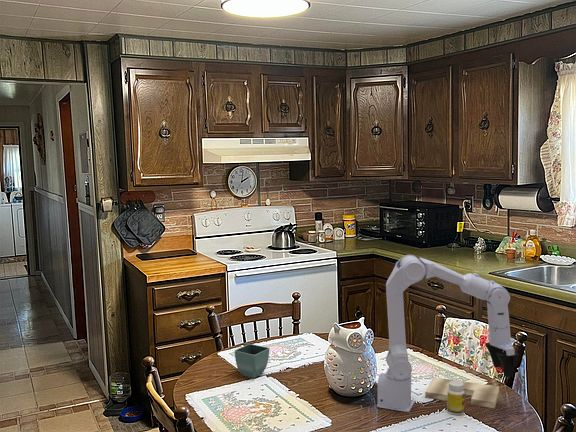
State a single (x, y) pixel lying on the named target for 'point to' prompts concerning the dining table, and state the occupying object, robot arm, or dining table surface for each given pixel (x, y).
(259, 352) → the flower pot
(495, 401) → the notched board
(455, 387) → the supplement bottle
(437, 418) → the dining table surface
